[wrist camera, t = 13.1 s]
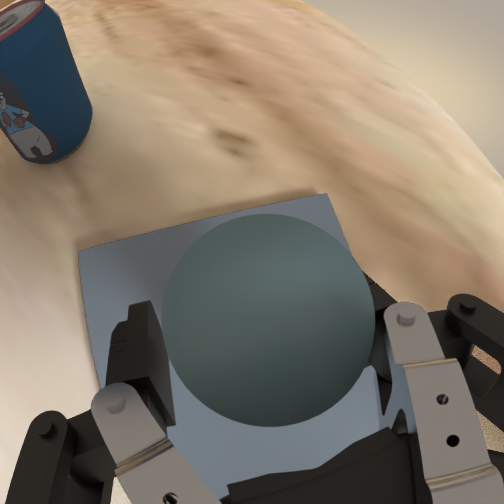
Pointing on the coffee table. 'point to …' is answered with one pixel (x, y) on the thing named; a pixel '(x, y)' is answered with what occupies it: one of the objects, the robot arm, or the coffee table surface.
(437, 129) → the coffee table surface
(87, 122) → the soda can
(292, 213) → the slate board
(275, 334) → the ball
